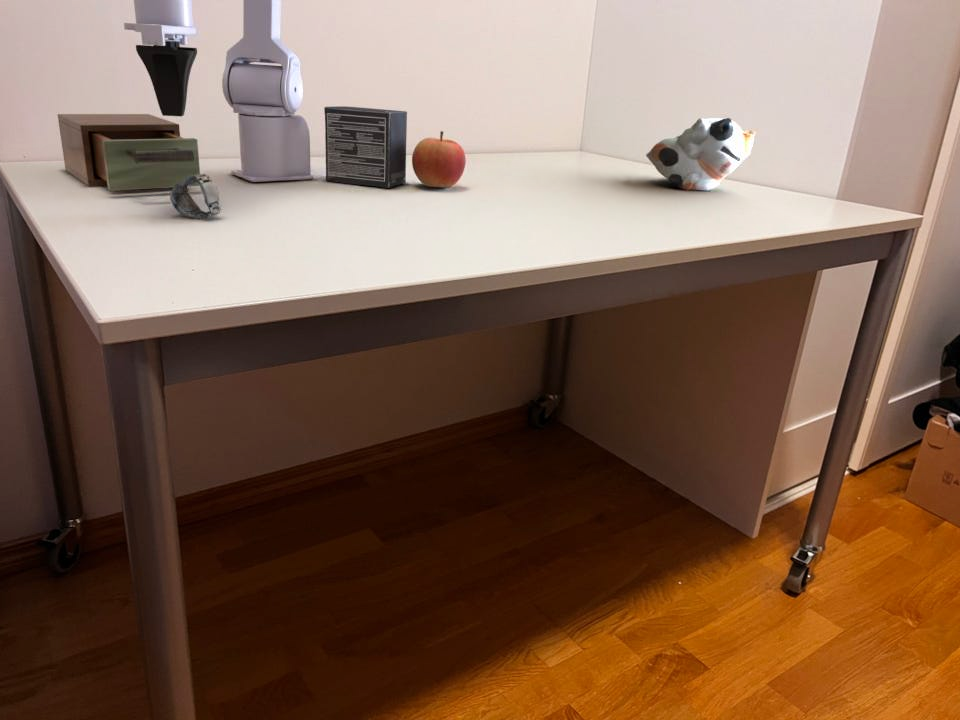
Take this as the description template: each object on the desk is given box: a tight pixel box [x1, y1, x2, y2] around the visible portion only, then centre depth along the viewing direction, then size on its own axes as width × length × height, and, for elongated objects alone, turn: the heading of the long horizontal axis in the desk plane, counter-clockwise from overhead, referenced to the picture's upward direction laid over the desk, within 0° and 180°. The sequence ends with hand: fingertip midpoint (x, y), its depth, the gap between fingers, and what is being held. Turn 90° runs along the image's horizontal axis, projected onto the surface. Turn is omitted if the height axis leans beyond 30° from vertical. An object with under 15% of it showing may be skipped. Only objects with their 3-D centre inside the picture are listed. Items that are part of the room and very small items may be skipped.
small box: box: [323, 105, 408, 189], centre depth 111 cm, size 11×6×10 cm, turn 71°
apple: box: [411, 130, 467, 188], centre depth 111 cm, size 8×8×8 cm
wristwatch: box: [169, 173, 222, 219], centre depth 84 cm, size 3×5×5 cm
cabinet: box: [57, 113, 181, 187], centre depth 105 cm, size 14×12×8 cm
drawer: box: [88, 131, 201, 192], centre depth 96 cm, size 17×11×6 cm, turn 38°
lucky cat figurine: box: [645, 117, 756, 191], centre depth 126 cm, size 15×12×14 cm
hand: (173, 115), depth 84 cm, fingers closed
